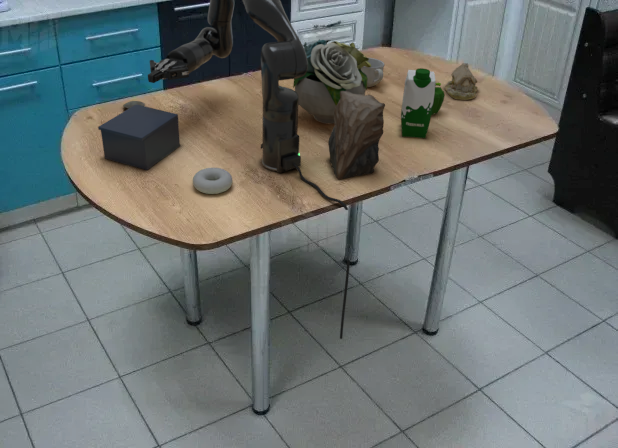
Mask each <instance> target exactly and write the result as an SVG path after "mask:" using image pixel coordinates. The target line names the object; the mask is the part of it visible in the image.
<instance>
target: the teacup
mask: <svg viewBox="0 0 618 448" xmlns="http://www.w3.org/2000/svg"><path fill="white" fill-rule="evenodd" d="M368 58H369V60H368V61H367V62H369V63H370V64H371V67H369V68H368V67H365V66H364V67H362V68H361V70H362V72H363V73H364V74H366V76H367V78H368V80H367V88H372V87H373V88H374V87H375V86H376V85H378V84H380V82H381V81H383V79H384V68H385V62H384V61H382V60H380V59H378V58H373V57H368Z"/></svg>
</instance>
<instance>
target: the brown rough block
mask: <svg viewBox="0 0 618 448" xmlns="http://www.w3.org/2000/svg"><path fill="white" fill-rule="evenodd" d="M385 107H386V103H384V102H380V101H379V100H378V99H377V98H376V97H374V95H371V94H365V95H361V94H352V93H351V92H348V91H341V92H340V100H339V102H338V104H337V105H336V108H335V111H334V123H333V125H334V126H333V127H332V131H331V132H330V136H329V138H328V145H327V146H328V152H329V158H330V159H329V163H330V164H331V168H332V170H333V174H334V176H335V177H336V179H337V180H339V181H340V180H344V179H348V178H353V177H360V176H362V175H370V174H372V173H374V172H375V171H376V170H375V169H374V168H375V166H376V165H377V164H378V163H379V161H380V158H379V157H380V156H379V151H380V148H379V144H380V140H381V138H382V136H383V135H384V125H385V124H384V123H385V120H384V109H385Z"/></svg>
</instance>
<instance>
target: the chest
mask: <svg viewBox="0 0 618 448" xmlns="http://www.w3.org/2000/svg"><path fill="white" fill-rule="evenodd" d="M100 136H101V141H102V150H103V157H104V159H105V160H108V161H113V162H116V163H120V164H124V165H127V166H131V167H135V168H138V169H142V170H145V171H148V170H149V169H151V168H152V167H154V166H155V165H156V164H159V162H161V161H162V160H163V159H165V158H166V157H167V156H169V155H170V154H171V153H173V152H175V150H177V149H178V148H179V147H181V139H180V125H179V116H178V117H177V118H176V119H174V120H173V121H171V122H170V123H168V124H167V125H165V126H164V127H162V128H161V129H159V130H158V131H156V132H155V133H153V134H152V135H150V136H149V137H147V138H146V139H144V140H143V141H141V140H137V139H133V138H129V137H125V136H121V135H118V134H114V133H110V132H106V131H102V130H100Z"/></svg>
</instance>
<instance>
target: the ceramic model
mask: <svg viewBox="0 0 618 448" xmlns="http://www.w3.org/2000/svg"><path fill="white" fill-rule="evenodd" d="M477 84H478V79H477V78H476V77H475V76H474V74H473V73H472V71H471V70H470V68H469V64H468V62H467V63H466V62H465V63H464V62H463V63H461V64H460V65H459V66H457V67H456V68H455V69H454V70H452V72H451V80H449V81H447V83H446V84H445V87H444V90H445V91H446V93H447V95H449V96H450V98H452V99H454V100H461V101H462V100H463V101H464V100H465V101H467V100H473V99H475V98H476V97H477V95H476V94H477V92H478V86H476V85H477Z"/></svg>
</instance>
